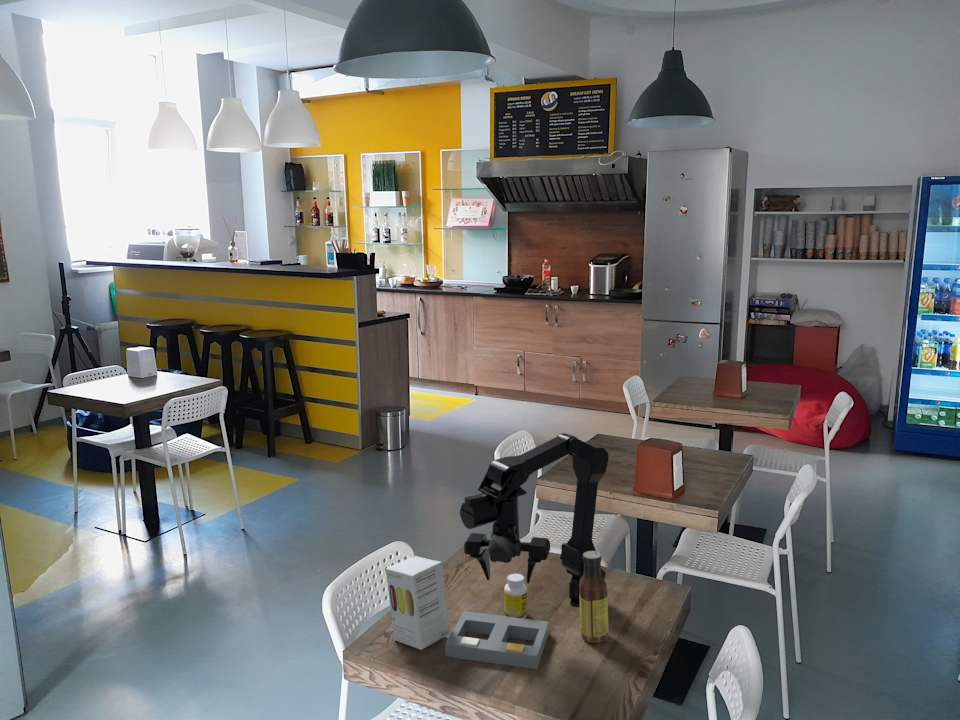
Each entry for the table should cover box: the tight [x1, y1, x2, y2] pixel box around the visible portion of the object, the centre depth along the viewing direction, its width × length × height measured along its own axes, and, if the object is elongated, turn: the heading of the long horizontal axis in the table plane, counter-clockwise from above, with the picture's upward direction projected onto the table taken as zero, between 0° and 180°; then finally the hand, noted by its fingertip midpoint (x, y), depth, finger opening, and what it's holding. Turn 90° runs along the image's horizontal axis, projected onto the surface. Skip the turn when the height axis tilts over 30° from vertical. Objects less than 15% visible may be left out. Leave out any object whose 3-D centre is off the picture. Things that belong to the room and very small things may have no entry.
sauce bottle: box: [579, 550, 610, 644], centre depth 163 cm, size 6×6×20 cm
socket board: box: [444, 610, 550, 670], centre depth 162 cm, size 20×14×3 cm
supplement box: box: [385, 555, 451, 651], centre depth 164 cm, size 10×9×17 cm
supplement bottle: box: [503, 573, 528, 619], centre depth 174 cm, size 5×5×10 cm
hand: (508, 581), depth 166 cm, fingers open, 9 cm apart
